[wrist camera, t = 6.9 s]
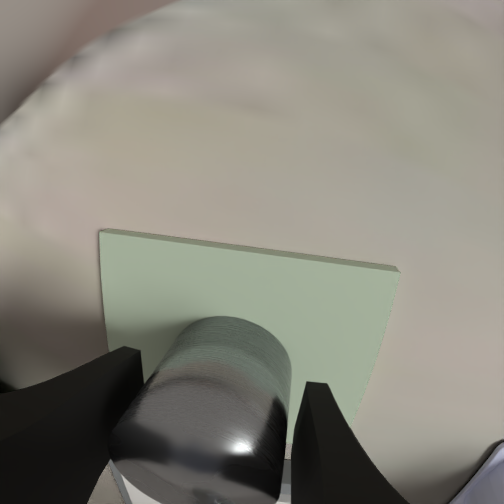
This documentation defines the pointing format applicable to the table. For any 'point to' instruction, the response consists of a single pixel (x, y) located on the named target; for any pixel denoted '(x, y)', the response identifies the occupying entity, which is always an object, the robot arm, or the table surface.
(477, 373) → the table surface
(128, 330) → the mat
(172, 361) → the cylinder
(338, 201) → the table surface
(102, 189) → the table surface
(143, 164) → the table surface
